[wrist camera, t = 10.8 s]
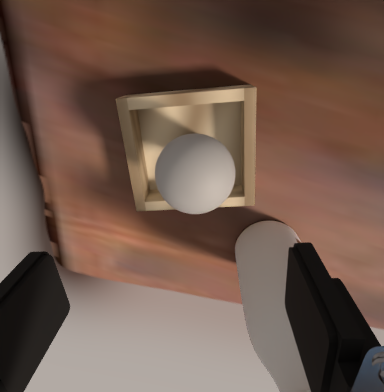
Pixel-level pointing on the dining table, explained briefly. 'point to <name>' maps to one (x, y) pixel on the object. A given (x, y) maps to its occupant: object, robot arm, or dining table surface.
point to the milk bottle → (269, 300)
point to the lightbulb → (195, 173)
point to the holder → (188, 124)
